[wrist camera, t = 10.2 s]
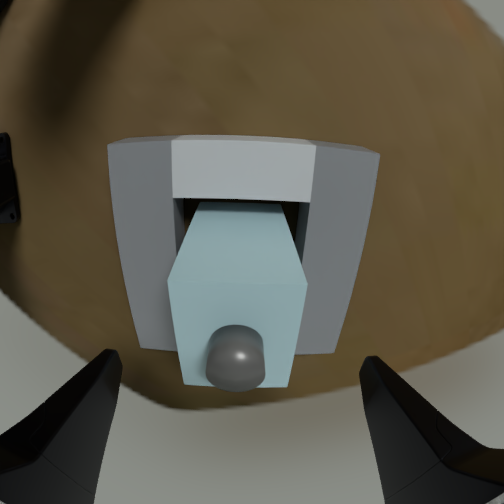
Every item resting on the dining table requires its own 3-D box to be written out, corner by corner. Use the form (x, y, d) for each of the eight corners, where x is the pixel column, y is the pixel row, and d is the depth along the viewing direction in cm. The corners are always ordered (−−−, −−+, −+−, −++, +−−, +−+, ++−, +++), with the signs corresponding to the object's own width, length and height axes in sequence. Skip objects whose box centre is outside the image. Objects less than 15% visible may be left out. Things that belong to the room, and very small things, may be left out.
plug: (202, 283, 19) (179, 412, 10) (200, 201, 16) (156, 309, 8) (273, 286, 19) (290, 414, 11) (280, 204, 16) (317, 313, 8)
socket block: (149, 323, 20) (140, 347, 18) (126, 138, 14) (107, 144, 12) (326, 328, 21) (333, 352, 19) (361, 146, 15) (380, 154, 13)
